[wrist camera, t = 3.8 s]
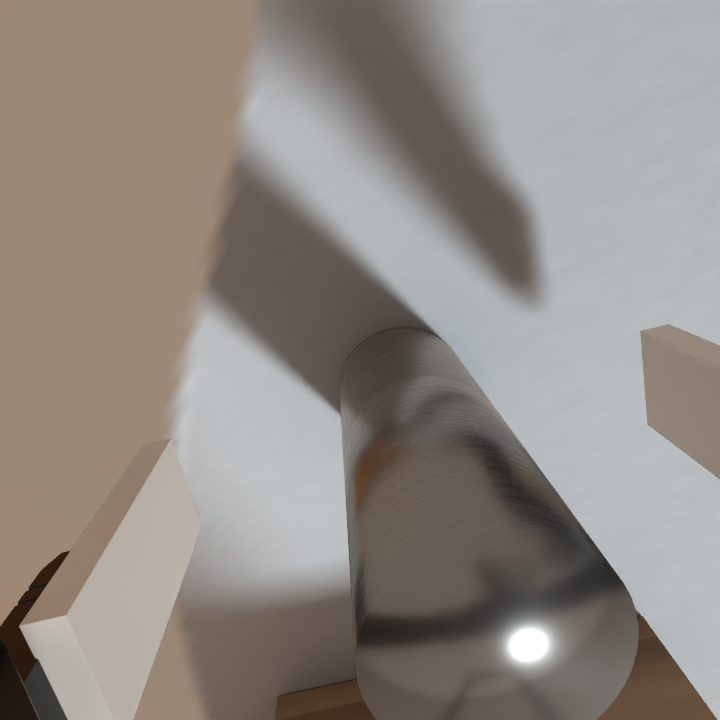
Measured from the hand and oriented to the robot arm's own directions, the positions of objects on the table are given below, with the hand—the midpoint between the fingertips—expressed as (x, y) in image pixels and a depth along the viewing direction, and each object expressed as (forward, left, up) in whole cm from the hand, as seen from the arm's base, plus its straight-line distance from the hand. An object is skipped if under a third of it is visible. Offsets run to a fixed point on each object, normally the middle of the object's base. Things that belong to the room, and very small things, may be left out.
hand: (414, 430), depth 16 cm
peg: (0, 0, -3) cm, 3 cm away
